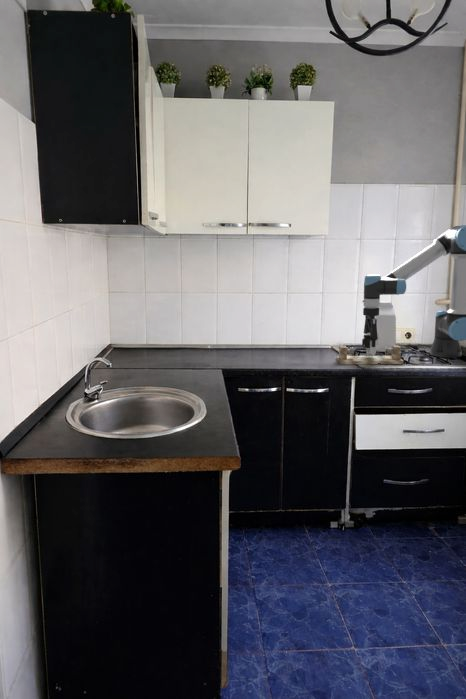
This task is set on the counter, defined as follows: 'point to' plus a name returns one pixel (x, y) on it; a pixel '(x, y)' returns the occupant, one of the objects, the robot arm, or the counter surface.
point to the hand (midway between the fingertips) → (369, 350)
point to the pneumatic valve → (368, 343)
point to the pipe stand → (369, 359)
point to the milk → (386, 326)
